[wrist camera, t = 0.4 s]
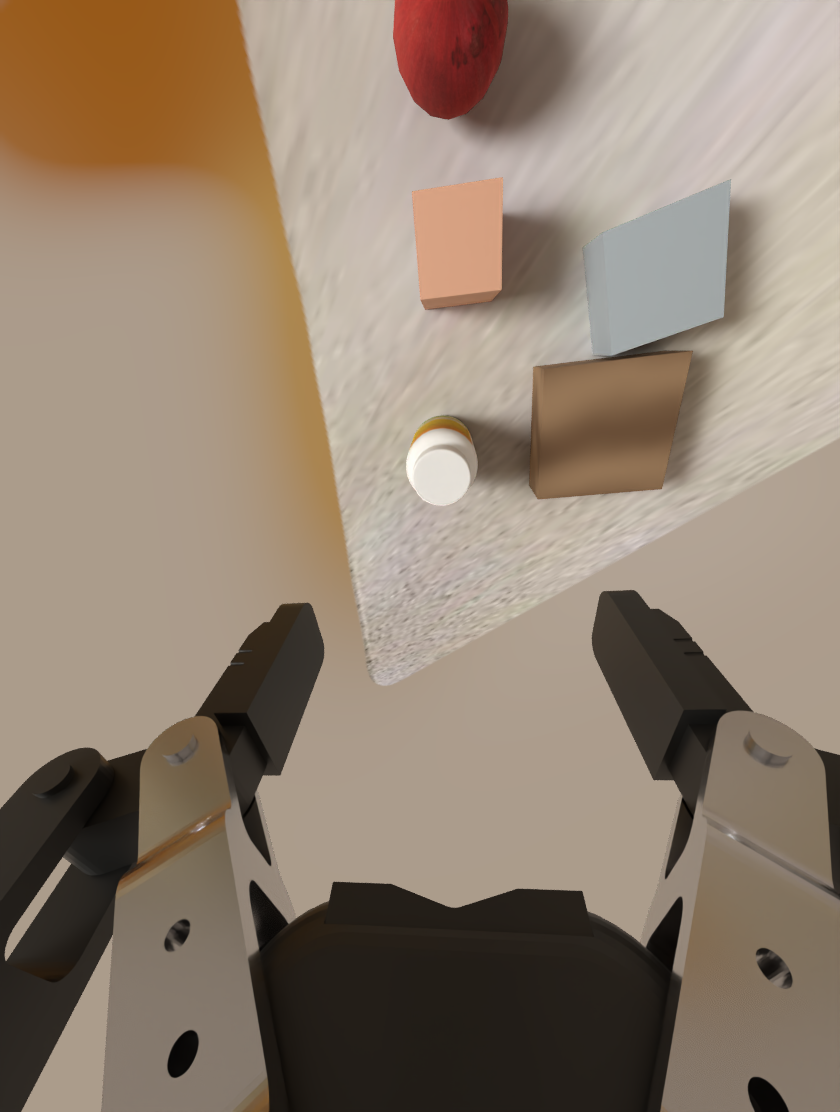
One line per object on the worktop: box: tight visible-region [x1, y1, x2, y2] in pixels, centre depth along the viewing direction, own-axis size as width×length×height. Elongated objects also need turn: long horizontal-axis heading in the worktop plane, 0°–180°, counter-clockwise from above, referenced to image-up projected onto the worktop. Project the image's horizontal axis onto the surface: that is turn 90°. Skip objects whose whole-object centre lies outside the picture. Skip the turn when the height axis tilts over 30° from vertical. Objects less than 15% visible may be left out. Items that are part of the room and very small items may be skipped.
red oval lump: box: [393, 0, 508, 120], centre depth 18 cm, size 6×6×8 cm
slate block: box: [583, 179, 731, 356], centre depth 25 cm, size 7×7×4 cm
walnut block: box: [529, 351, 693, 499], centre depth 30 cm, size 10×10×4 cm
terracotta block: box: [412, 177, 503, 310], centre depth 24 cm, size 5×5×6 cm
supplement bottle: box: [406, 415, 478, 506], centre depth 29 cm, size 5×5×10 cm
